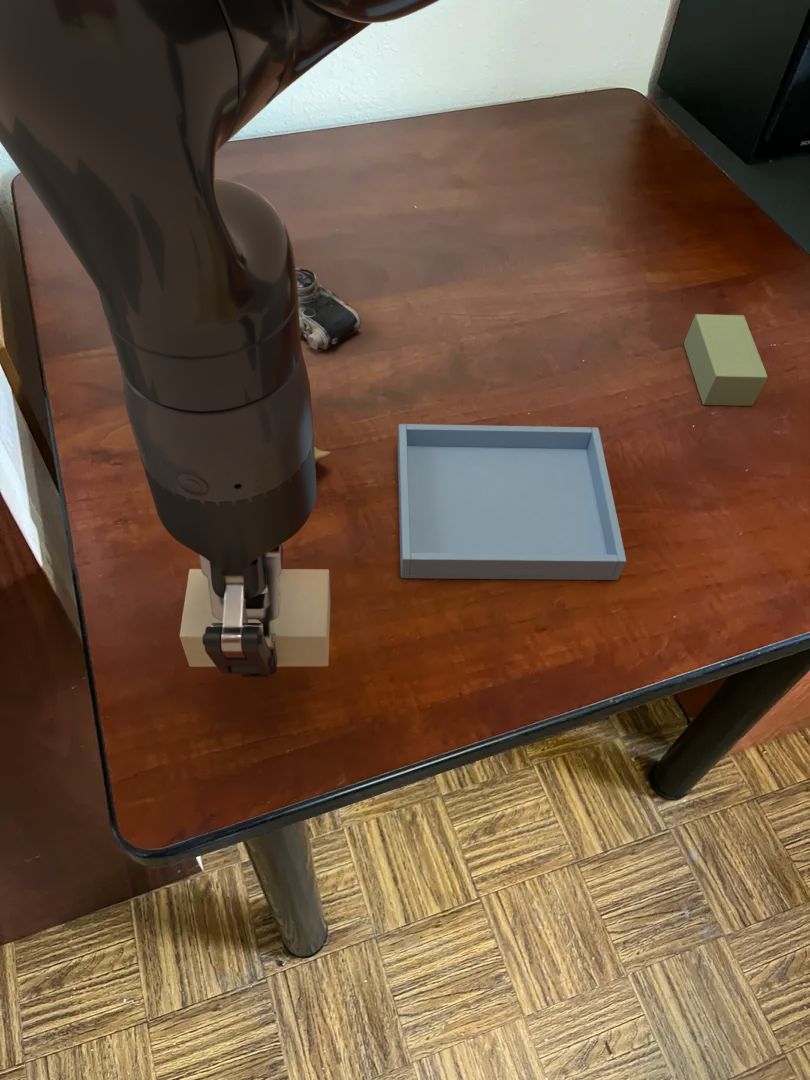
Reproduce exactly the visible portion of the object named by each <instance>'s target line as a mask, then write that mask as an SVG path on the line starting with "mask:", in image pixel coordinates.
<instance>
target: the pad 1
mask: <svg viewBox="0 0 810 1080" xmlns="http://www.w3.org/2000/svg"><path fill="white" fill-rule="evenodd" d="M330 584H331V583H330V570H329V568H328V569H325V568H324V569H322V568H321V569H320V568H319V569H317V568H315V569H314V568H312V569H311V568H307V569H306V568H304V569H303V568H291V569H290V568H286V569H285V568H282V570H281V574H280V590H281V603H280V611H279V616H278V617H277V618H276V619H274V620H273V626H274V633H276V642H275V649H276V655H277V667H329V661H330V631H331V628H330V627H331V586H330ZM267 592H268V589H267V588H266V589H265V590H264V592H263V593H261V594H264V593H267ZM184 596H185V597H184V604H183V611H182V617H181V624H180V631H179V638H180V641H181V645H182V648H183V651H184V654H185V657H186V659H187V662H188V666H189V667H191V668H193V667H194V668H195V667H196V668H199V667H201V668H203V667H204V668H205V667H207V668H208V667H209V668H211V667H213V668H214V667H215V668H217V667H216V665H215V664H214V663H213V661H212V660H211V659H210V657H209V656H208V654H207V653H206V651H205V645H203V634H205V630H206V627H207V626H211V624H212V623H223V622H222V621H220V620H218V619H216V618H215V617H214V616H213V615H212V610H211V602H210V594H209V586H208V579H207V577H206V576H205V575H204V574H203V573H202V571H201V568H189V570H188V577H187V583H186V591H185V595H184ZM248 623H261V622H260V621H259V620H256V619H248Z"/></svg>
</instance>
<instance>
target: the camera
mask: <svg viewBox="0 0 810 1080" xmlns="http://www.w3.org/2000/svg"><path fill="white" fill-rule="evenodd" d="M296 277H297V289H298V305H299V320H300V334H301V337H304V338H305V340H307V342H308V344H309V346H310V347H311V348H312V349H313V350H318V349H319V348H320V349H323V350H327V349H328V348H329V349H330V348H331V347H332V346H334V345H337V343H339V342H341V341H342V340H344V339H346V338H347V337H349V336H351V335H352V334H355V333H356V332H358V330H361V328H362V326H361V325H362V319H361V317H360V315H359V313H358V312H357V311H356V310H355V309H354V308H353V307H351V306H350V305H349V304H348V303H345V301H344V300H342V299H340V298H339V297H338V296H337V295H336V294H335V292H332V291H330V290H329V289H327V288H326V287H324V286H323V285H322V284H321V282H320V281H319V280H318V277H317V276H316V274H315V272H313V271H311V270H309V269H304V268H299V267H296Z"/></svg>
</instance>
